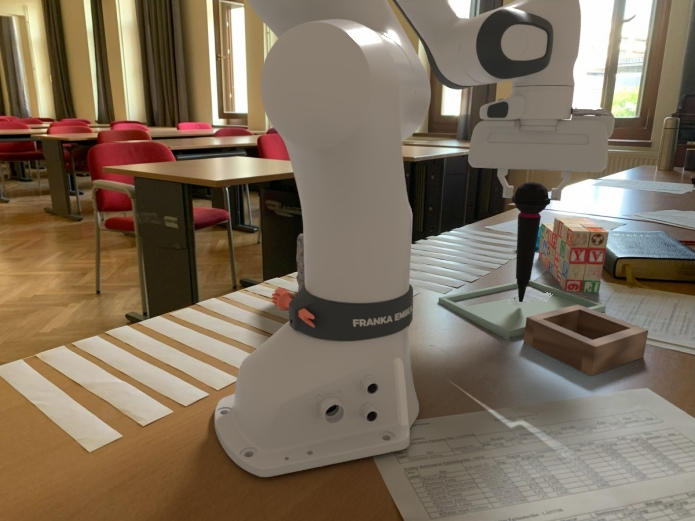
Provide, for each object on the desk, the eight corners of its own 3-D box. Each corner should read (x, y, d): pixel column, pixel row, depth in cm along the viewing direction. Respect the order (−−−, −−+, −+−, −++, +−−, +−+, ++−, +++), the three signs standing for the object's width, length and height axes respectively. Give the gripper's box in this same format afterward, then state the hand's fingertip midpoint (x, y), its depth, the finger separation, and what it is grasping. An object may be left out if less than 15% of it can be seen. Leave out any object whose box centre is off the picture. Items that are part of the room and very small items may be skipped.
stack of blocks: (536, 263, 115) (542, 208, 112) (565, 264, 115) (572, 209, 111) (564, 295, 95) (572, 229, 92) (599, 296, 94) (609, 230, 91)
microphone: (542, 300, 87) (556, 181, 81) (531, 310, 83) (544, 185, 77) (511, 293, 90) (522, 179, 85) (498, 302, 86) (508, 182, 80)
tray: (508, 341, 75) (509, 331, 74) (438, 306, 88) (438, 297, 88) (604, 314, 85) (606, 305, 85) (528, 287, 99) (529, 279, 98)
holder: (591, 375, 65) (595, 346, 64) (523, 343, 74) (526, 317, 73) (643, 357, 70) (648, 330, 69) (574, 328, 79) (577, 304, 78)
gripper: (614, 107, 77) (602, 199, 81) (475, 108, 84) (469, 192, 88) (619, 107, 71) (605, 206, 75) (469, 107, 79) (463, 197, 82)
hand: (531, 198), depth 82 cm, fingers closed on microphone, 6 cm apart
